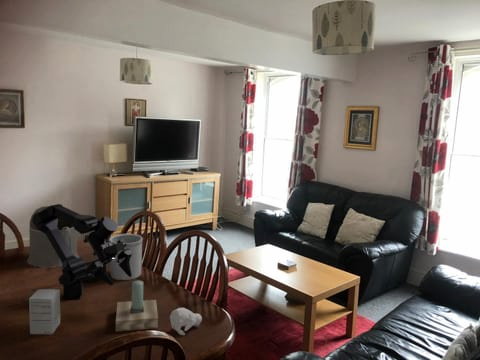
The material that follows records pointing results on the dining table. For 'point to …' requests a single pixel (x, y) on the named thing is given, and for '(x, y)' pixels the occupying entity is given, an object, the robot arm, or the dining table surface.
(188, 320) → the white rounded figure
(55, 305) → the supplement box
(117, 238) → the utensil holder
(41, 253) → the gray lidded bin
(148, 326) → the square hole wooden block
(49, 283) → the dining table surface
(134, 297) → the plug
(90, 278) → the end cap
